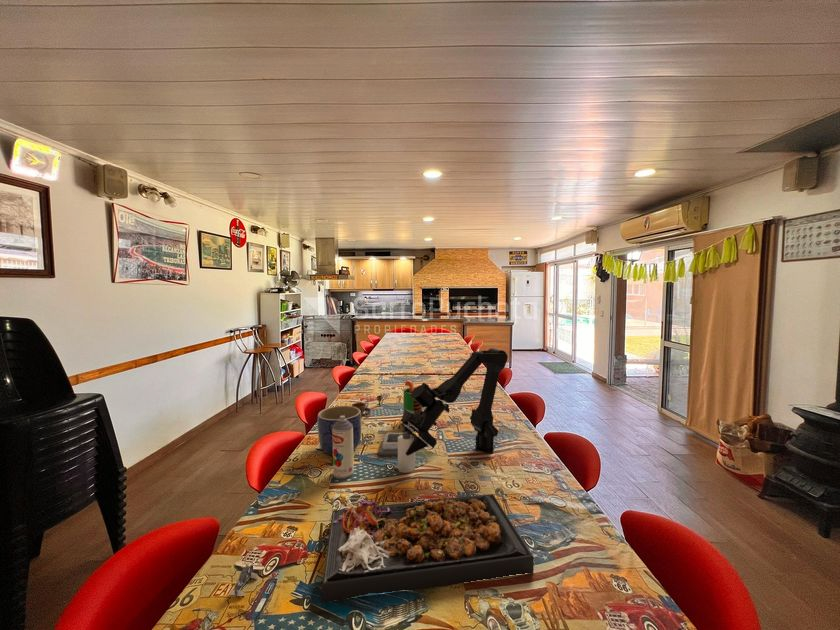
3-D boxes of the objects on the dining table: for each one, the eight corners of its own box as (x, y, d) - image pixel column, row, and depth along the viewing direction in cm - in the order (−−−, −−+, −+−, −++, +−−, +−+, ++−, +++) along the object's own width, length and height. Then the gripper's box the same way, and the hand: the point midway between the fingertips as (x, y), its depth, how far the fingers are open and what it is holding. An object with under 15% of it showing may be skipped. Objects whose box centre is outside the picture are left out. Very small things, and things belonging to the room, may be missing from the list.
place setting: (344, 410, 188) (344, 399, 188) (381, 405, 195) (381, 394, 194) (349, 421, 172) (349, 409, 171) (390, 415, 178) (389, 404, 178)
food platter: (322, 605, 72) (321, 556, 71) (332, 526, 96) (331, 489, 95) (533, 575, 79) (534, 531, 78) (493, 508, 103) (493, 473, 102)
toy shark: (249, 605, 72) (248, 584, 71) (219, 601, 73) (218, 580, 72) (287, 551, 87) (287, 533, 86) (262, 548, 87) (261, 530, 87)
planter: (316, 461, 130) (315, 421, 129) (320, 442, 147) (319, 407, 146) (362, 456, 134) (362, 418, 133) (360, 438, 150) (360, 404, 149)
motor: (420, 428, 161) (419, 384, 159) (400, 427, 162) (400, 383, 161) (424, 420, 171) (424, 379, 169) (406, 419, 172) (405, 378, 171)
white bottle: (417, 465, 127) (417, 431, 126) (411, 473, 121) (411, 437, 120) (401, 463, 129) (401, 429, 128) (395, 471, 123) (394, 435, 122)
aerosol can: (329, 475, 121) (327, 417, 119) (344, 466, 126) (343, 411, 125) (343, 481, 117) (341, 421, 115) (358, 472, 122) (357, 415, 121)
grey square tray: (414, 441, 147) (414, 431, 147) (413, 455, 134) (413, 445, 134) (383, 440, 148) (383, 431, 147) (379, 455, 135) (378, 445, 134)
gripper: (405, 394, 133) (377, 428, 129) (428, 409, 117) (397, 449, 113) (424, 411, 137) (398, 445, 133) (449, 428, 121) (420, 467, 117)
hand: (402, 450), depth 124 cm, fingers open, 6 cm apart
